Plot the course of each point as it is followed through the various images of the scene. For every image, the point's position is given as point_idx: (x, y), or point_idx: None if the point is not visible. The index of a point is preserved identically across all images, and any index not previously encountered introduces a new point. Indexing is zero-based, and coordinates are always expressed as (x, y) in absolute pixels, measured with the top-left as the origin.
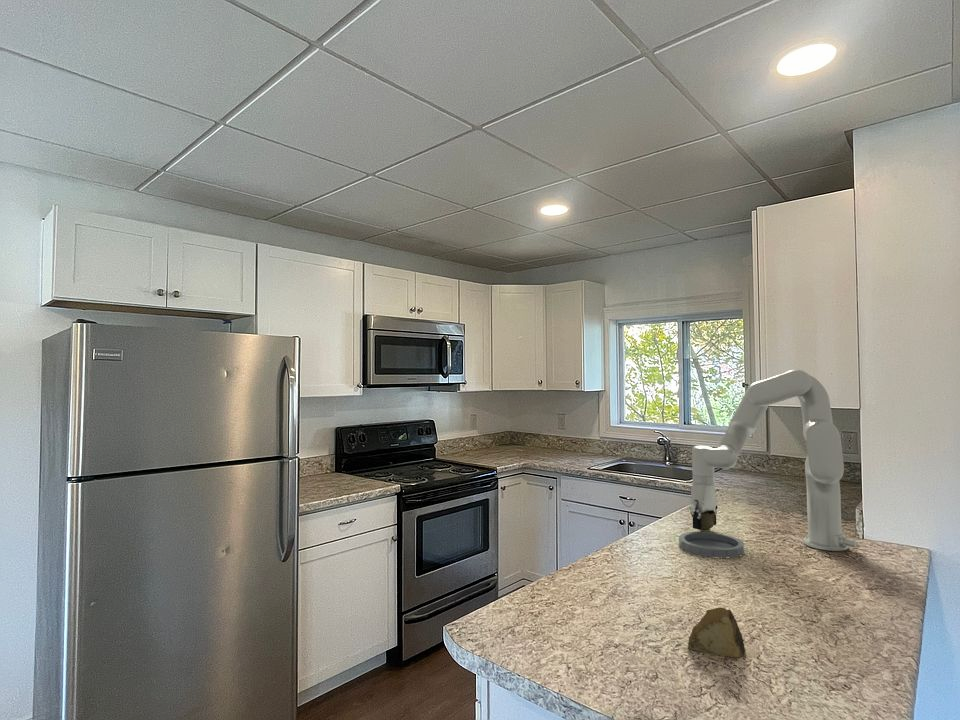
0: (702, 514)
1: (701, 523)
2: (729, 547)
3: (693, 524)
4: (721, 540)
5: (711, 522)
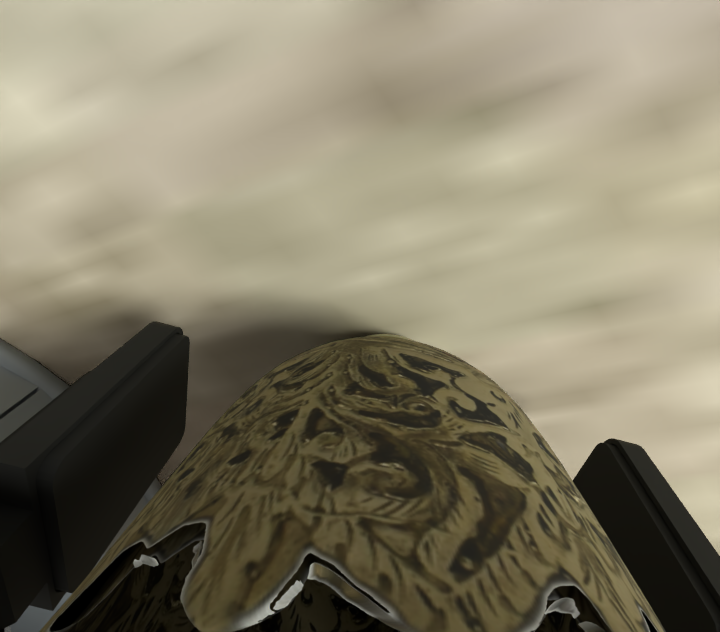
0: None
1: (120, 515)
2: (29, 611)
3: (121, 363)
4: None
5: (295, 612)
